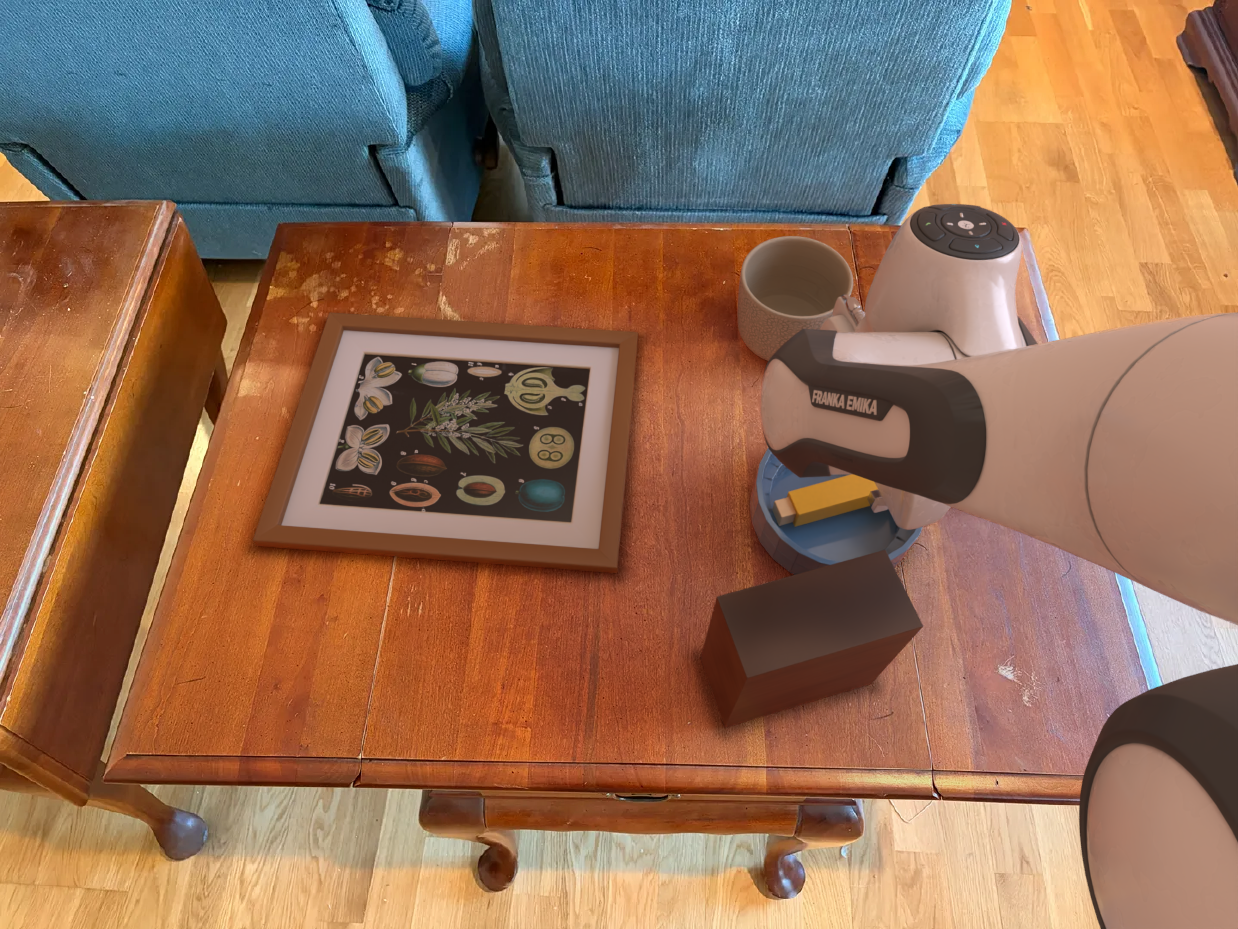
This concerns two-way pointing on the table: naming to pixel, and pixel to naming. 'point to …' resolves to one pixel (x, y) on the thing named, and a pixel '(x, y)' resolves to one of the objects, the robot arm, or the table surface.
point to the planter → (788, 290)
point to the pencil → (823, 500)
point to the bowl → (820, 525)
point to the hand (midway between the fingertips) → (856, 463)
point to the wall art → (458, 444)
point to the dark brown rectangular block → (806, 637)
